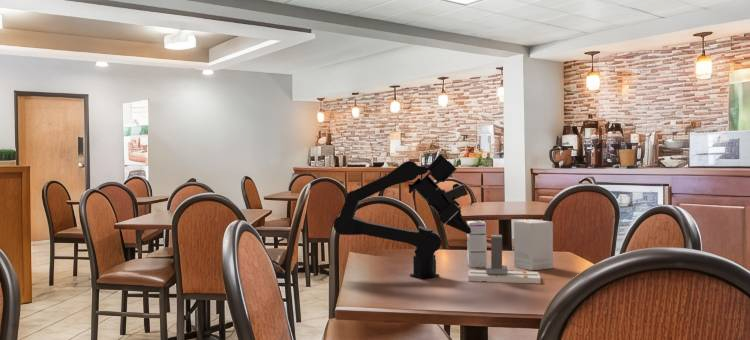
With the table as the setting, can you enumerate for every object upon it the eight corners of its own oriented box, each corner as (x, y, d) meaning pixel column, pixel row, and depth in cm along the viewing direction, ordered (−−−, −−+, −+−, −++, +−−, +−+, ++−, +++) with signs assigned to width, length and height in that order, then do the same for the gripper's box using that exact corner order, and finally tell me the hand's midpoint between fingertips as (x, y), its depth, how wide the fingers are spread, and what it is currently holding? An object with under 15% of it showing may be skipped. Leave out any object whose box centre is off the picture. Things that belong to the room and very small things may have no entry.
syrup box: (487, 267, 190) (487, 222, 190) (468, 267, 190) (468, 222, 190) (484, 264, 196) (484, 220, 195) (466, 264, 196) (466, 220, 195)
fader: (486, 273, 170) (485, 236, 169) (486, 269, 176) (486, 234, 175) (507, 274, 169) (507, 237, 168) (506, 270, 174) (506, 234, 174)
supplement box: (554, 268, 188) (554, 221, 187) (531, 271, 184) (531, 222, 184) (534, 264, 196) (534, 218, 196) (513, 266, 192) (513, 220, 192)
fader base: (468, 281, 169) (468, 274, 169) (469, 274, 178) (469, 268, 178) (540, 283, 165) (540, 277, 165) (537, 277, 174) (537, 271, 174)
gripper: (451, 175, 165) (491, 215, 164) (452, 173, 184) (488, 209, 182) (423, 203, 166) (462, 243, 165) (426, 198, 185) (462, 234, 184)
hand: (469, 231), depth 174 cm, fingers open, 6 cm apart
